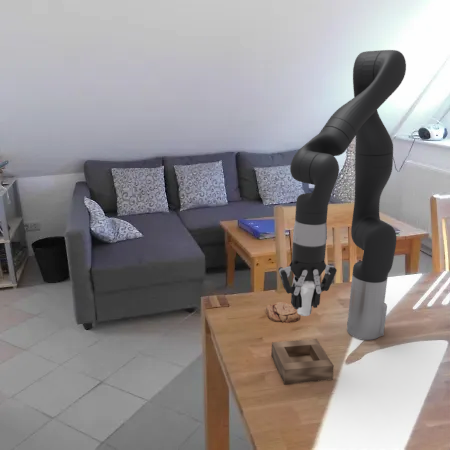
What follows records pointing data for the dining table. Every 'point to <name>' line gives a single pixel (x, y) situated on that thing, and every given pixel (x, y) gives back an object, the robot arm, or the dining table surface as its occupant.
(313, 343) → the socket block
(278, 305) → the cookie
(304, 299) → the milkshake
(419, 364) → the dining table surface
